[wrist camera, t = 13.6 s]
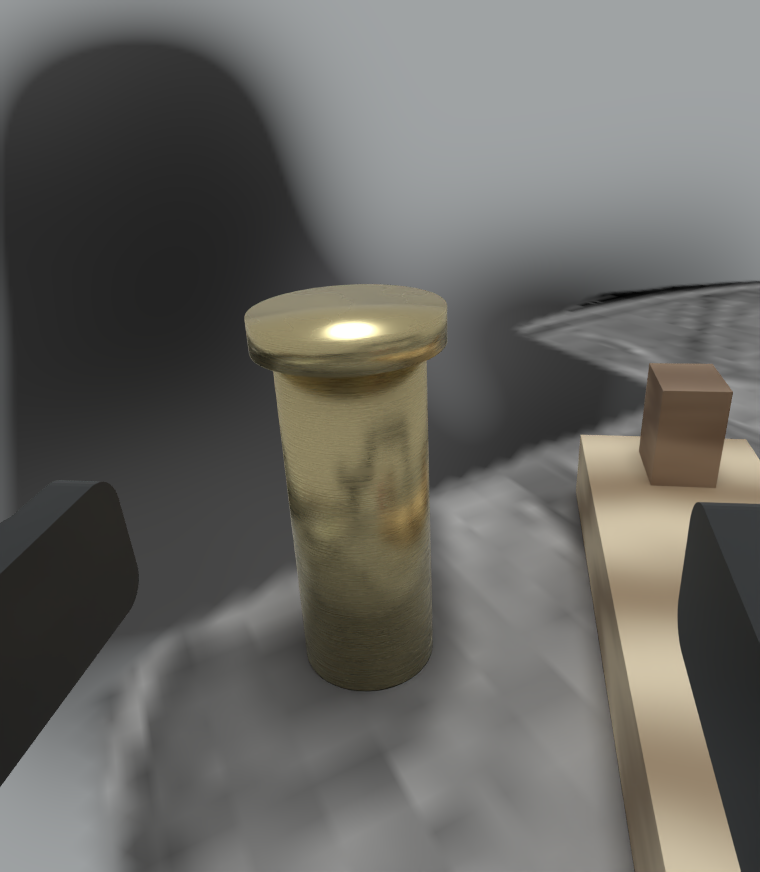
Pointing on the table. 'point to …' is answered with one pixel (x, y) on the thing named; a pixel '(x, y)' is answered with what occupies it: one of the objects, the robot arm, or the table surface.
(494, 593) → the table surface
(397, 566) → the brass flanged cylinder
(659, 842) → the body
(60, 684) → the robot arm
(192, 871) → the table surface
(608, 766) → the table surface
